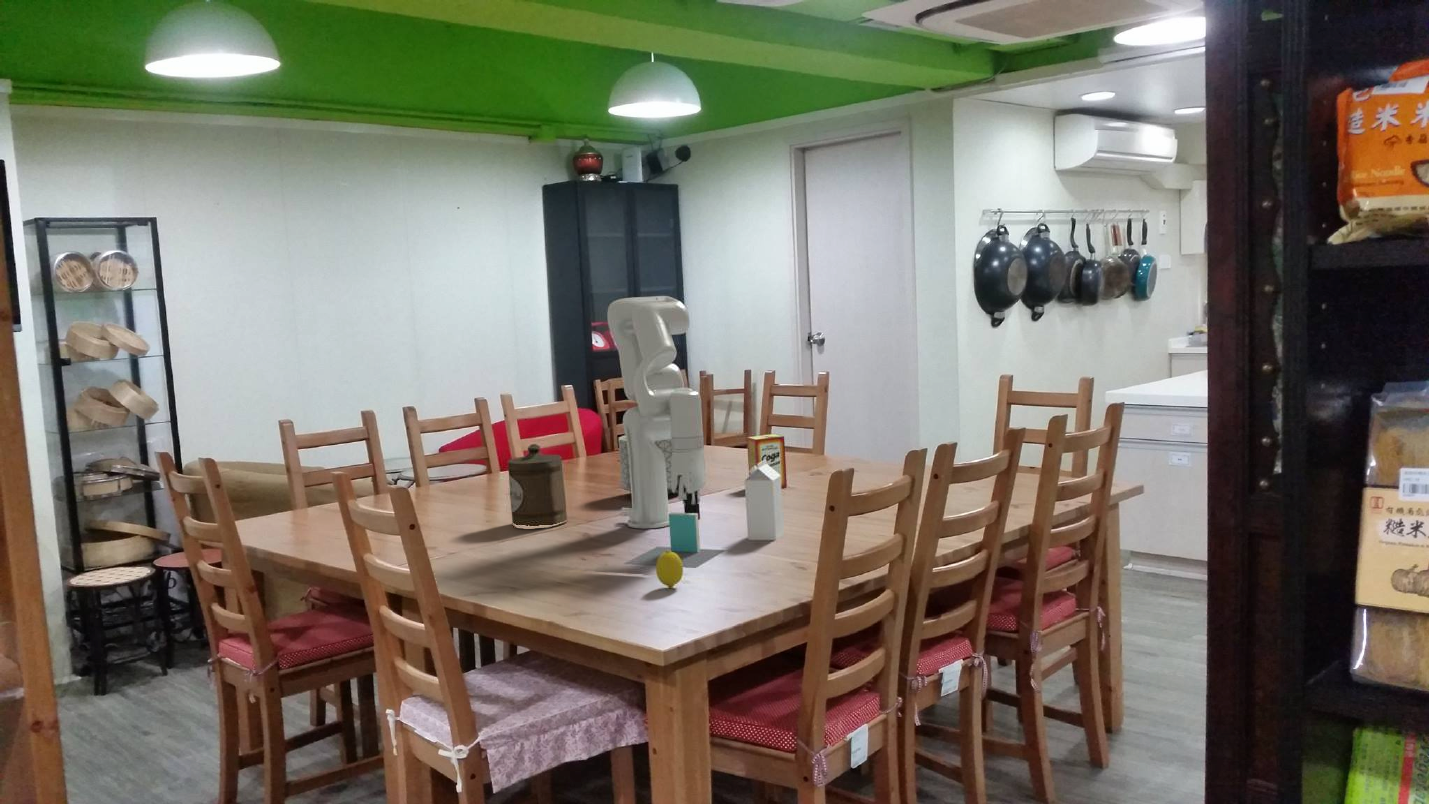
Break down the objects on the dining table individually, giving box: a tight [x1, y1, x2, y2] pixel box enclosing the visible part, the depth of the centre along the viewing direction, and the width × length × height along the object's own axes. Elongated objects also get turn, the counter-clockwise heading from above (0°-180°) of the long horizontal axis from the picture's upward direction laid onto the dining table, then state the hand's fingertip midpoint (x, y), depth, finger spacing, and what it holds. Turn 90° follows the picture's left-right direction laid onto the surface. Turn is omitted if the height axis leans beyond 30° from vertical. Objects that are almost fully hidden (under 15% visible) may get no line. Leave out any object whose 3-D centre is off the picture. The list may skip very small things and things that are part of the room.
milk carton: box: [744, 459, 785, 541], centre depth 265 cm, size 7×7×19 cm
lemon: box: [655, 550, 684, 589], centre depth 226 cm, size 6×6×8 cm
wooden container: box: [507, 443, 568, 526], centre depth 299 cm, size 15×15×22 cm
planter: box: [617, 435, 673, 496], centre depth 331 cm, size 19×19×18 cm
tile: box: [668, 512, 701, 553], centre depth 255 cm, size 7×2×9 cm, turn 65°
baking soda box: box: [746, 433, 788, 489], centre depth 332 cm, size 10×6×16 cm
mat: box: [623, 546, 727, 569], centre depth 251 cm, size 18×16×1 cm
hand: (692, 520), depth 259 cm, fingers closed
